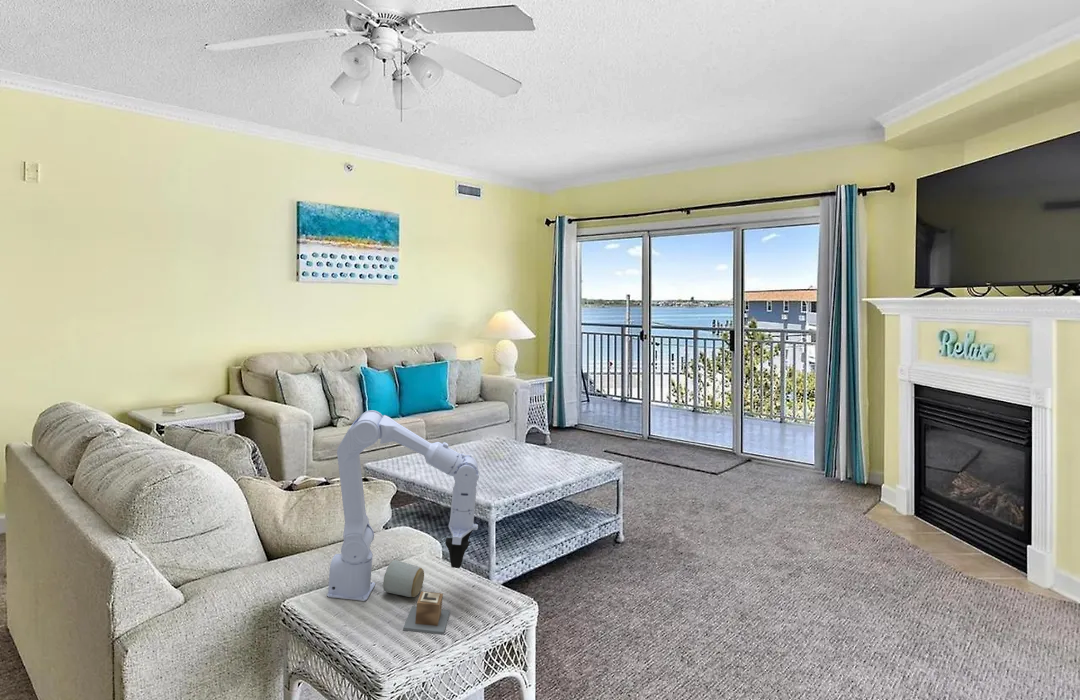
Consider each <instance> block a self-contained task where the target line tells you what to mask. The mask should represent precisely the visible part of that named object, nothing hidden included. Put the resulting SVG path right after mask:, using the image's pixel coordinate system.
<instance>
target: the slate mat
mask: <svg viewBox="0 0 1080 700" xmlns="http://www.w3.org/2000/svg"><path fill="white" fill-rule="evenodd" d="M410 608H411V609H410V610H409V613H408V614H407V618H406V620H405V622H404V625H403V628H402V631H409V632H418V633H424V634H425V633H427V634H436V635H442V636H443V635H444V634H445V631H446V627H447V624H448V621H449V616H450V614H451V609H447V608H446V609H445V608H442V609H441V616H440V619H439V622H438V626H433V625H424V624H415V621H416V609H417V605H412V606H411V607H410Z"/></svg>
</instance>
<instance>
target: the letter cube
mask: <svg viewBox="0 0 1080 700" xmlns="http://www.w3.org/2000/svg"><path fill="white" fill-rule="evenodd" d="M443 596H444V594H443V593H441V592H432V591H431V592H430V591H423V590H420V593H419V597H418V599H417V602H416V606H417V609H416V621H415V624H424V625H433V626H438V622H439V619H440V616H441V609H443Z"/></svg>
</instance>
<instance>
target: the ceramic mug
mask: <svg viewBox="0 0 1080 700" xmlns="http://www.w3.org/2000/svg"><path fill="white" fill-rule="evenodd" d="M424 580H425V572H424V569H423V568H422V567H420V566H418V565H415V564H411V563H408V562H406V561H405V562H404V561H402V560H398V559H393V560H392V561H390V563H389V564H388V566H387V568H386V570H385V572H384V577H383V582H382V589H383V591H384V592H385V593H387V594H388V593H389V594H392V595H398V596H403V597H405V598H406V597H407V598H416V597H417V596H418V595H420V593H421V591H422V587H423V584H424Z"/></svg>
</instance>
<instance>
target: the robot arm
mask: <svg viewBox="0 0 1080 700" xmlns="http://www.w3.org/2000/svg"><path fill="white" fill-rule="evenodd" d="M379 440H380V442H379V444H380V445H382V444H387V443H391V442H393V443H397V444H399V445H401V446H403V447H405V448H407V449H409V450H412V451H414V452H415V453H418V454H420V455H422V456H423V457H424V459H425V463H426V464H428V465H430V466H431V467H433V468H435V469H437V470H438V471H441V472H442V473H444V474H445V475H448V476H451V477H453V480H454V485H453V487H452V494H451V504H450V505H451V506H450V515H449V516H450V518H449V523H448V529H449V531H450V533H451V536H452V537H446V539H445V546H446V548H447V550H448V554H449V559H450V562H449V563H450V567H451V568H453V569H461V567H462V562H463V559H464V557H465V553H466V551H467V549H468V548H469V546H470V544H471V541H470V540H469V539H470V536H471V534H472V532H473V531H477V530H478V528H479V524H477V523H474V520H475V511H476V500H477V485H478V484H477V483H478V480H479V478H480V475H479V464H478V461H477V460H476V459H475V458H474V457H473V456H472V455H471V454H465V453H464V452H462V453H460V452H458V451H456V450H454V449H453V448H451V447H449V443H447V442H446V441H443V442H440V441H436V442H429V441H428V440H426V439H425V438H423V437H422V436H420V435H418V434H417V433H415V432H413V431H411V430H410V429H408V428H407V427H406V426H404V425H402V424H400V423H398V422H397V421H396V420H394V419H392V418H391V417H390V416H388V415H386V414H382V413H381V412H379V411H377V410H373V409H372V410H366V411H365V412H363V413H361V415H359V416H358V417H357V418H355V420H354V421H353V422H352V424H351V425H350V426H349V428H348V430H347V431H346V433H345V434H344V437H343V438H342V440H341V441H340V443H339V445H338V446H337V449H336V457H337V464H338V472H339V473H338V474H339V481H340V489H341V491H340V492H341V501H342V508H343V509H342V510H343V516H344V525H343V526H344V527H343V534H342V535H343V543H342V545H341V548H340V553H335V554H334V555H333V557H332V559H331V562H330V565H329V571H328V573H329V574H328V586H327V587H328V588H327V589H328V590H327V594H326V597H327V596H328V597H327V598H334V599H342V600H343V599H345V600H352V601H353V600H354V601H362V602H366V601H367V600H368V599H369V597H370V595H371V593H372V592H373V589H374V588H375V586H376V582H371V580H372V568H373V552H372V550H371V545H372V543H373V541H374V538H375V531H374V529H373V527H372V525H370V524H371V523H370V520H369V517H368V515H367V512H366V502H365V494H364V493H365V492H364V484H363V476H362V475H363V473H362V463H361V457H360V456H361V455H360V454H361V453H362V452H363V451H364V450H365V449H367V448H368V447H371V446H373V445H374V444H376V443H377V442H378V441H379Z"/></svg>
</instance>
